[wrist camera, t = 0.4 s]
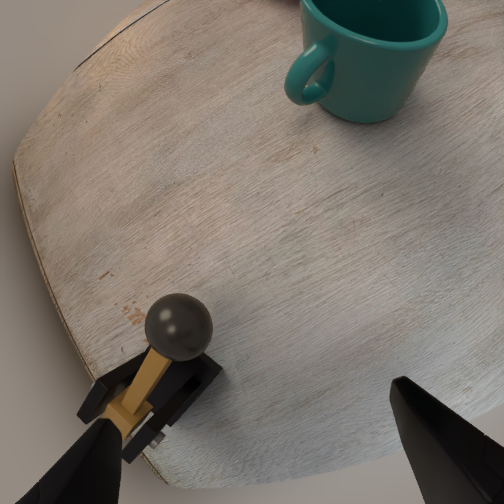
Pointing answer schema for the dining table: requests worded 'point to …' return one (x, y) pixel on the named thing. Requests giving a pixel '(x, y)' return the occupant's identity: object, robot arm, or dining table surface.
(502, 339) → the dining table surface
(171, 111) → the dining table surface
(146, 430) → the switch bracket
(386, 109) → the cup
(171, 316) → the switch lever
